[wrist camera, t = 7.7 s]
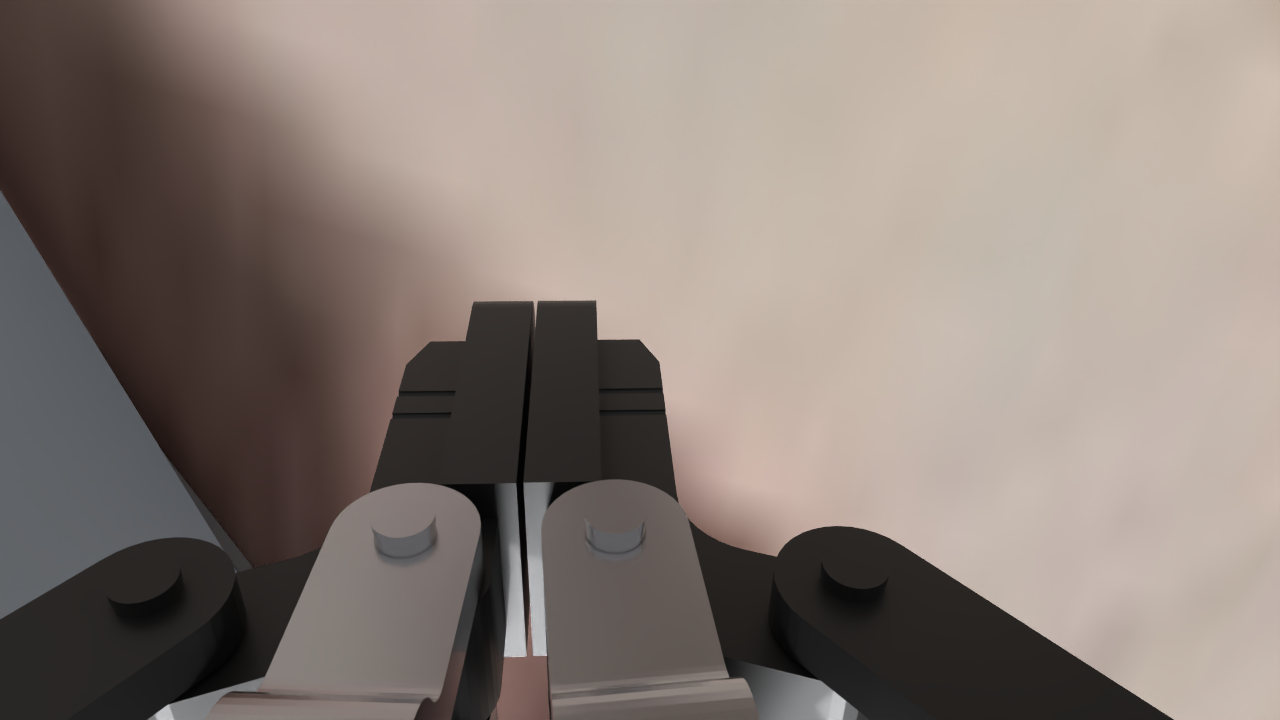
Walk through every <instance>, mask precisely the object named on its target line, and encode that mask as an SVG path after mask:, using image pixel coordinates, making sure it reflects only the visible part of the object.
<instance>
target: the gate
mask: <svg viewBox="0 0 1280 720" xmlns="http://www.w3.org/2000/svg"><path fill="white" fill-rule="evenodd" d="M172 537H188V538H195V539H201V540H204V541H207V542H210V543H212V544H214V545H216V546H218V547H220V548H221V549H222V547H221V545H220V544H219V542H218V541H217V539H216V537H215V536H214V534H213V532H212V531H211V529H210V528H209V526H208V524H207V523H206V521H205V520H204V518H203V516H202V515H201V513H200V512H199V510H198V508H197V507H196V505H195V503H194V502H193V500H192V499H191V497H190V495H189V494H188V492H187V491H186V489H185V487H184V486H183V484H182V482H181V481H180V479H179V478H178V476H177V474H176V473H175V471H174V470H173V468H172V466H171V465H170V463H169V462H168V460H167V458H166V457H165V455H164V453H163V452H162V450H161V449H160V447H159V445H158V444H157V442H156V441H155V439H154V437H153V436H152V434H151V432H150V431H149V429H148V428H147V426H146V424H145V423H144V421H143V420H142V418H141V416H140V415H139V413H138V411H137V410H136V408H135V407H134V405H133V403H132V402H131V400H130V399H129V397H128V395H127V394H126V392H125V391H124V389H123V387H122V386H121V384H120V382H119V381H118V379H117V378H116V376H115V374H114V373H113V371H112V370H111V368H110V366H109V365H108V363H107V361H106V360H105V358H104V357H103V355H102V353H101V352H100V350H99V349H98V347H97V345H96V344H95V342H94V341H93V339H92V337H91V336H90V334H89V332H88V331H87V329H86V328H85V326H84V324H83V323H82V321H81V320H80V318H79V316H78V315H77V313H76V311H75V310H74V308H73V307H72V305H71V303H70V302H69V300H68V299H67V297H66V295H65V294H64V292H63V291H62V289H61V287H60V286H59V284H58V282H57V281H56V279H55V278H54V276H53V274H52V273H51V271H50V270H49V268H48V266H47V265H46V263H45V261H44V260H43V258H42V257H41V255H40V253H39V252H38V250H37V249H36V247H35V245H34V244H33V242H32V241H31V239H30V237H29V236H28V234H27V232H26V231H25V229H24V228H23V226H22V224H21V223H20V221H19V220H18V218H17V216H16V215H15V213H14V211H13V210H12V208H11V207H10V205H9V203H8V202H7V200H6V199H5V197H4V195H3V194H2V192H1V190H0V619H2V618H3V617H5V616H7V615H8V614H10V613H12V612H14V611H15V610H17V609H19V608H20V607H22V606H24V605H25V604H27V603H29V602H31V601H32V600H34V599H36V598H37V597H39V596H41V595H42V594H44V593H46V592H48V591H49V590H51V589H53V588H54V587H56V586H58V585H60V584H61V583H63V582H65V581H66V580H68V579H70V578H71V577H73V576H75V575H77V574H78V573H80V572H82V571H83V570H85V569H87V568H88V567H90V566H92V565H94V564H95V563H97V562H99V561H100V560H102V559H104V558H106V557H108V556H110V555H112V554H113V553H115V552H117V551H120V550H122V549H125V548H127V547H130V546H133V545H136V544H139V543H142V542H146V541H151V540H156V539H162V538H172ZM222 550H223V549H222ZM223 551H224V550H223ZM234 569H235V568H234ZM235 573H237V571H236V570H235Z"/></svg>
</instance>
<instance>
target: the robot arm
mask: <svg viewBox="0 0 1280 720" xmlns="http://www.w3.org/2000/svg"><path fill="white" fill-rule="evenodd" d="M392 414H393V418H392V419H391V420H390V423H389V427H388V430H387V434H386V437H385V441H384V444H383V448H382V451H381V455H380V458H379V462H378V465H377V469H376V472H375V476H374V479H373V483H372V486H371V490H370V493H369V494H367V495H365V496H363V497H361V498H359V499H357V500H356V501H354V502H353V503H351V504H350V505H349V506H348V507H346V508H345V509H344V510H343V511H342V512H341V513H340V514H339V515H338V517H337V518H336V519H335V521H334V522H333V524H332V526H331V528H330V530H329V532H328V534H327V536H326V539H325V541H324V543H323V546H322V547H320V548H318V549H317V550H314V551H312V552H309V553H307V554H304V555H302V556H299V557H295V558H292V559H289V560H285V561H281V562H277V563H273V564H269V565H265V566H261V567H257V568H253V569H249V570H245V571H241V572H237V573H235V569H234V566H233V563H232V560H231V559H230V557H229V556H228V554H227V553H226V552H225V551H223V550H222V549H221V548H220V547H218V546H216V545H214V544H212V543H210V542H207V541H204V540H201V539H195V538H188V537H172V538H162V539H156V540H151V541H146V542H142V543H139V544H136V545H133V546H130V547H127V548H125V549H122V550H120V551H117V552H115V553H113V554H112V555H110V556H108V557H106V558H104V559H102V560H100V561H99V562H97V563H95V564H94V565H92V566H90V567H88V568H87V569H85V570H83V571H82V572H80V573H78V574H77V575H75V576H73V577H71V578H70V579H68V580H66V581H65V582H63V583H61V584H60V585H58V586H56V587H54V588H53V589H51V590H49V591H48V592H46V593H44V594H42V595H41V596H39V597H37V598H36V599H34V600H32V601H31V602H29V603H27V604H25V605H24V606H22V607H20V608H19V609H17V610H15V611H14V612H12V613H10V614H8V615H7V616H5V617H3V618H2V619H0V720H498V714H497V702H498V699H499V697H500V691H501V684H502V672H503V661H504V657H527V642H528V625H529V608H530V610H531V628H532V646H533V656H547V673H548V699H549V720H1173V719H1172V718H1170V717H1169V716H1167V715H1166V714H1164V713H1163V712H1161V711H1159V710H1158V709H1156V708H1155V707H1153V706H1152V705H1150V704H1148V703H1147V702H1145V701H1144V700H1142V699H1141V698H1139V697H1138V696H1136V695H1134V694H1133V693H1131V692H1130V691H1128V690H1127V689H1125V688H1124V687H1122V686H1120V685H1119V684H1117V683H1116V682H1114V681H1113V680H1111V679H1109V678H1108V677H1106V676H1105V675H1103V674H1102V673H1100V672H1099V671H1097V670H1095V669H1094V668H1092V667H1091V666H1089V665H1088V664H1086V663H1085V662H1083V661H1081V660H1080V659H1078V658H1077V657H1075V656H1074V655H1072V654H1070V653H1069V652H1067V651H1066V650H1064V649H1063V648H1061V647H1060V646H1058V645H1056V644H1055V643H1053V642H1052V641H1050V640H1049V639H1047V638H1046V637H1044V636H1042V635H1041V634H1039V633H1038V632H1036V631H1035V630H1033V629H1031V628H1030V627H1028V626H1027V625H1025V624H1024V623H1022V622H1021V621H1019V620H1017V619H1016V618H1014V617H1013V616H1011V615H1010V614H1008V613H1007V612H1005V611H1003V610H1002V609H1000V608H999V607H997V606H996V605H994V604H992V603H991V602H989V601H988V600H986V599H985V598H983V597H982V596H980V595H978V594H977V593H975V592H974V591H972V590H971V589H969V588H968V587H966V586H964V585H963V584H961V583H960V582H958V581H957V580H955V579H953V578H952V577H950V576H949V575H947V574H946V573H944V572H943V571H941V570H939V569H938V568H936V567H935V566H933V565H932V564H930V563H928V562H927V561H925V560H924V559H922V558H921V557H919V556H918V555H916V554H914V553H913V552H911V551H910V550H908V549H907V548H905V547H904V546H902V545H900V544H899V543H897V542H895V541H893V540H891V539H890V538H888V537H885V536H883V535H880V534H878V533H875V532H872V531H868V530H865V529H860V528H854V527H843V526H832V527H822V528H817V529H812V530H810V531H807V532H804V533H802V534H800V535H798V536H796V537H794V538H793V539H791V540H790V541H789V542H788V543H786V544H785V546H784V547H783V548H782V549H781V551H780V552H779V554H778V556H777V557H775V556H771V555H766V554H762V553H757V552H753V551H748V550H744V549H740V548H737V547H733V546H730V545H727V544H725V543H722V542H720V541H718V540H716V539H714V538H712V537H710V536H708V535H707V534H705V533H704V532H703V531H701V530H700V529H698V528H697V527H696V526H695V525H694V524H693V523H692V522H691V521H690V520H689V519H688V518H687V516H686V513H685V511H684V510H683V508H682V507H681V505H680V504H679V502H678V498H677V494H676V486H675V478H674V471H673V463H672V455H671V448H670V440H669V433H668V425H667V417H666V414H665V402H664V395H663V387H662V379H661V372H660V364H659V361H658V360H657V359H656V358H655V357H654V356H653V354H652V353H651V352H650V351H649V350H648V349H647V348H646V347H645V345H644V344H643V343H642V342H641V341H640V340H597V311H596V301H538V304H537V317H536V329H535V312H534V303H533V301H492V302H474V303H473V306H472V311H471V316H470V321H469V326H468V331H467V336H466V341H447V342H430V343H428V344H427V345H426V346H425V347H424V348H423V349H422V350H421V351H420V352H419V353H418V354H417V355H416V356H415V357H414V358H413V359H412V360H411V361H410V362H409V363H408V364H407V365H406V368H405V371H404V375H403V378H402V382H401V385H400V389H399V397H397V399H396V403H395V406H394V410H393V413H392Z"/></svg>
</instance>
